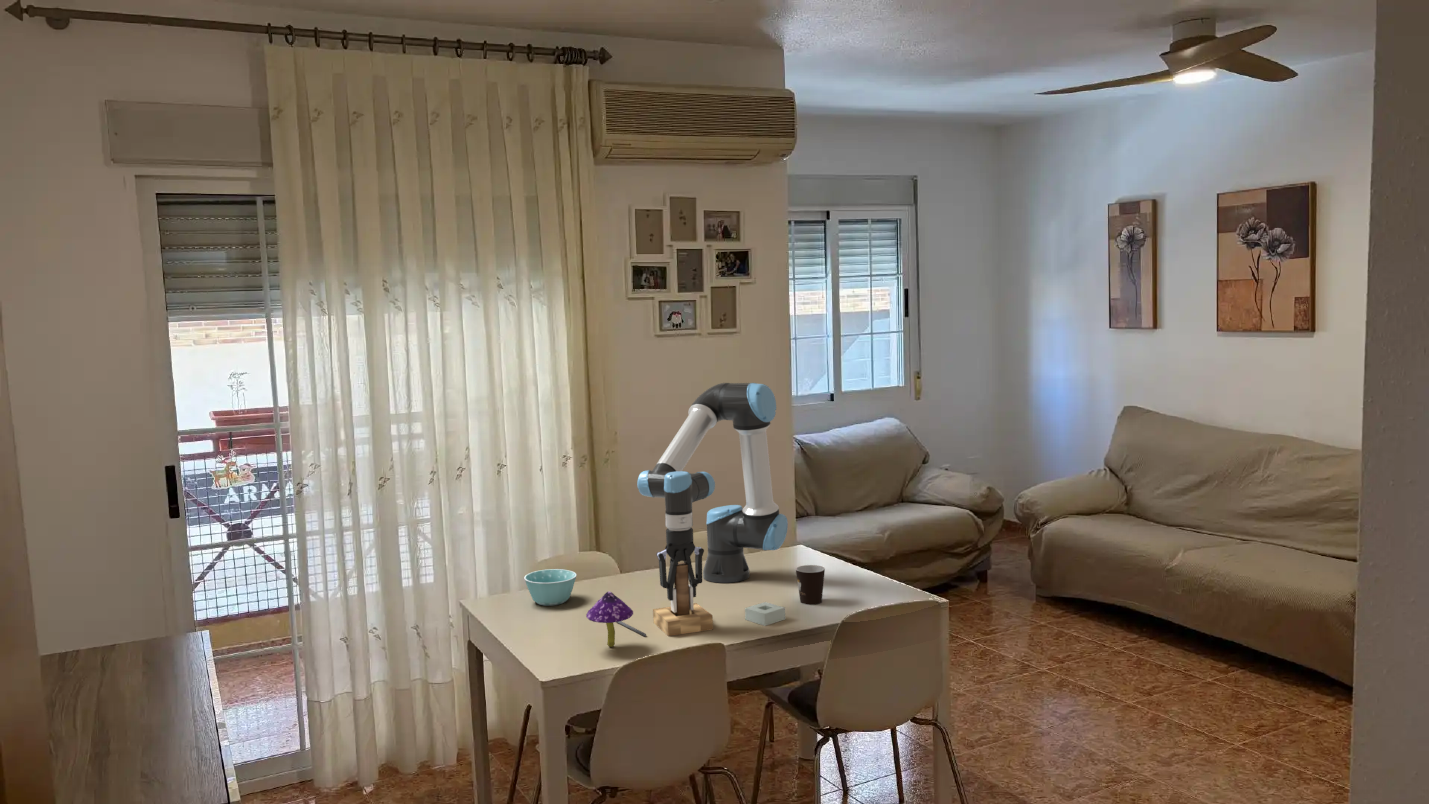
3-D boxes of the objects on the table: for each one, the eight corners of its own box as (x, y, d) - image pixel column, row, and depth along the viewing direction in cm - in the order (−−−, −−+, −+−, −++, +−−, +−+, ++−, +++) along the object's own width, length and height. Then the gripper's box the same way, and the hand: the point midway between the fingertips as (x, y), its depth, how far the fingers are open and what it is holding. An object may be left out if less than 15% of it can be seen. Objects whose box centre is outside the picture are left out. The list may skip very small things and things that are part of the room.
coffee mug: (824, 606, 313) (823, 572, 312) (794, 605, 315) (793, 572, 314) (827, 595, 324) (827, 562, 323) (799, 594, 326) (798, 562, 325)
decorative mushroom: (579, 652, 279) (576, 596, 278) (600, 637, 291) (598, 583, 289) (622, 656, 275) (619, 600, 273) (642, 641, 287) (640, 586, 285)
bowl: (587, 597, 330) (586, 571, 330) (559, 611, 316) (557, 584, 315) (544, 592, 337) (543, 567, 336) (515, 606, 323) (514, 579, 322)
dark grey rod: (615, 622, 304) (615, 619, 304) (617, 621, 305) (617, 618, 304) (644, 637, 290) (644, 634, 290) (646, 636, 291) (646, 633, 290)
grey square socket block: (745, 619, 303) (745, 608, 302) (765, 613, 308) (765, 601, 307) (765, 625, 297) (764, 613, 296) (785, 619, 302) (785, 607, 301)
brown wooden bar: (673, 619, 300) (671, 563, 298) (687, 617, 301) (685, 562, 299) (678, 623, 296) (676, 567, 294) (691, 621, 297) (689, 565, 296)
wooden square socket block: (653, 622, 302) (653, 609, 302) (696, 616, 307) (696, 602, 307) (668, 636, 290) (667, 621, 290) (712, 629, 295) (712, 615, 294)
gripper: (653, 534, 289) (657, 618, 292) (713, 527, 295) (716, 609, 298) (645, 528, 296) (648, 610, 299) (703, 521, 302) (706, 602, 305)
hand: (682, 609), depth 298 cm, fingers open, 4 cm apart
